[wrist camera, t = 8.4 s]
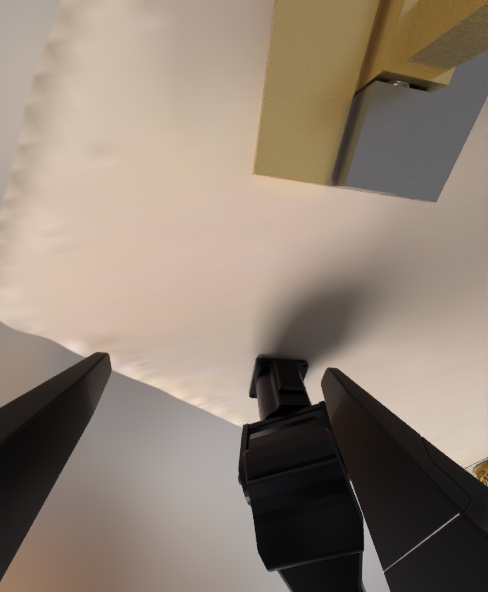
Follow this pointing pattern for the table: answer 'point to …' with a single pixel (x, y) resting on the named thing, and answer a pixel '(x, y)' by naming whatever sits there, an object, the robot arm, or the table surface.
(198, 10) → the table surface
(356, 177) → the fixed leaf
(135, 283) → the table surface
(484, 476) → the condiment
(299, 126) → the brass block assembly
